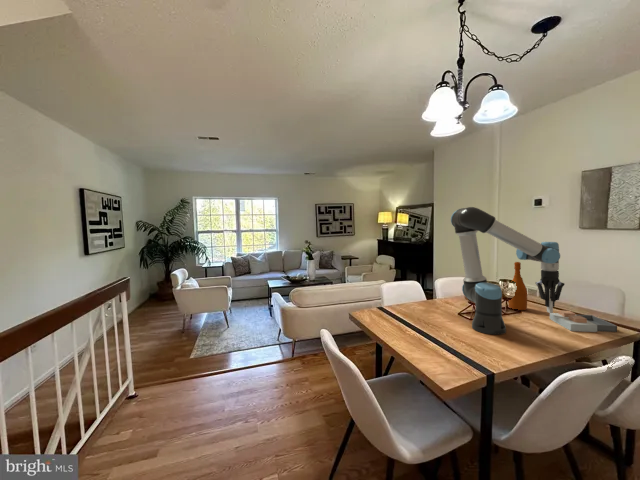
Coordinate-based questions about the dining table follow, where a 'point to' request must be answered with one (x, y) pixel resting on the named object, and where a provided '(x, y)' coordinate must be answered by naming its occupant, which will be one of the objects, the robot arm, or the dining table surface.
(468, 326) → the dining table surface
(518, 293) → the wine bottle
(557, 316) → the board
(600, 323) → the tray
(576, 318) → the tile near
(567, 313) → the tile far
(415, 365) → the dining table surface
